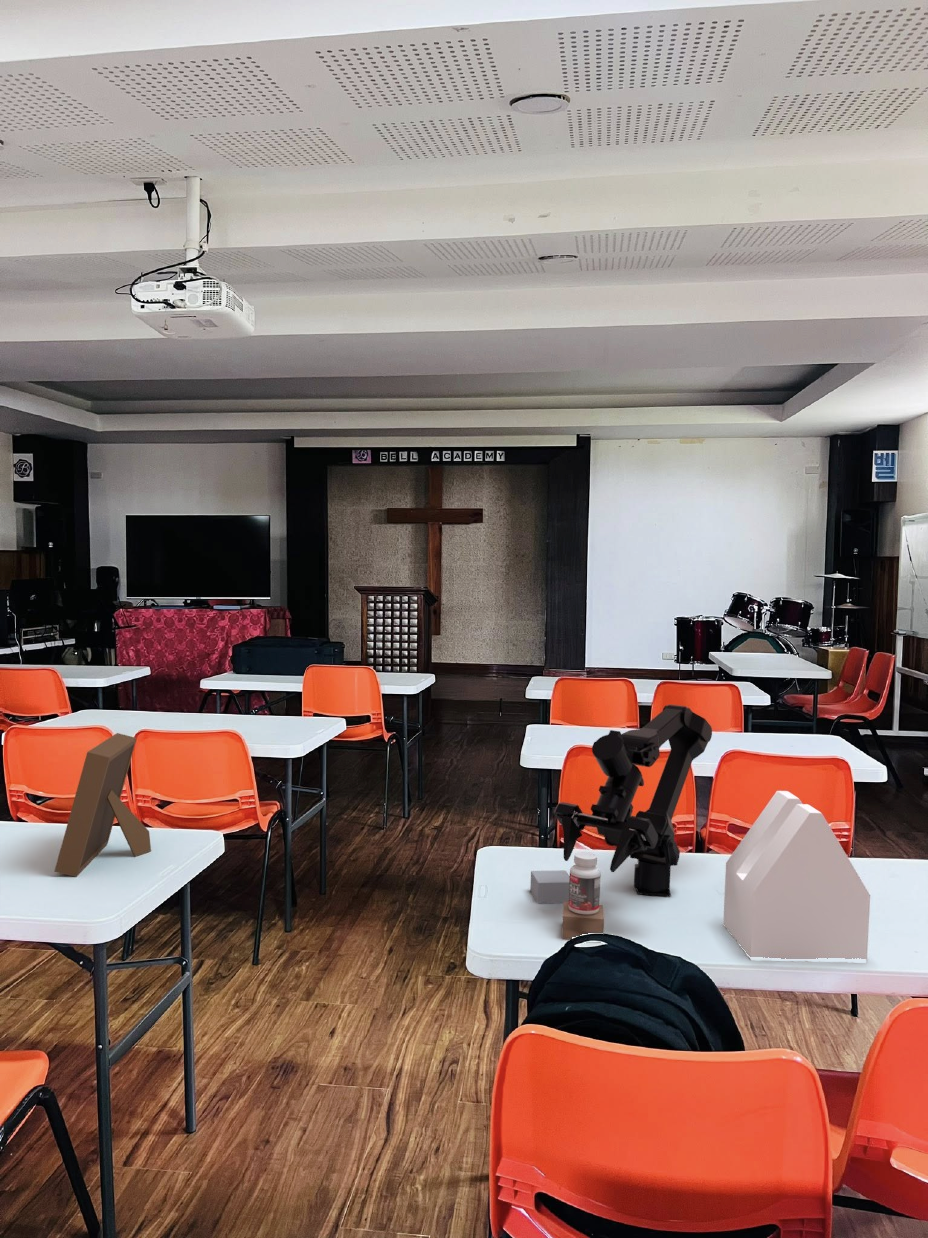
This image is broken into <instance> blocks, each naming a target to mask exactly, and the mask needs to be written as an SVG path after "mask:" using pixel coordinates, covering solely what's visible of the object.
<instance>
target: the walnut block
mask: <svg viewBox="0 0 928 1238" xmlns="http://www.w3.org/2000/svg"><path fill="white" fill-rule="evenodd" d="M562 904H563V907H562V925H561V927H562V928H561V939H562V940H569V939H572V937H576V936H580V935H582V934H588V933H603V934H604V927H605V925H604V923H605V916H604V915H605V914H604V904H599V911H598V912H597V913H595V914H591V915H583V914H577V913H574V912H572V911H571V910H570V909H569V902H564V903H562Z"/></svg>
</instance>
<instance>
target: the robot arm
mask: <svg viewBox="0 0 928 1238" xmlns="http://www.w3.org/2000/svg"><path fill="white" fill-rule="evenodd" d="M712 736H713V728H712V725H711V724H710V723H709V722H708V720H706V718H704V717H703V716H700V715H698V713H695V712H693V710H692V709H691V708H690V707H687V706H686V705H679V704H668V705H664V707H663V709H662V711H661V712H660V713H658V714H657V715H655V717H653V718H652V719H651V720H650V721H649V722H648V723H647V724H646V723H645V725H644V726H643V727H642V728H637V729H631V730H630V729H629V730H628V731H625V732H623V733H621V731H619V730H612V729H611V730H609V732H608V734H606V735H602V736H601V737H599V738H597V739H596V740H595V741H594V742H593V744H592V747H591V752H592V755H593V756H594V758H595V760H596V762H597V764H598V766H599V767H600V769H601V771H602V773H603V774H604V775H605V776H607V779H606V782H605V784H604V785H600V786H599V788H598V791H599V794H600V795H599V798H598V800H597V802H596V804H595V803H592V804H591V806H590V811H591V812H592V814H586V813H584V812H583V811H582V809H581V808H580V806H579V805H578V804H574V803H569V802H564V801H561V802H559V803H558V804H557V805H556V807H555V808H554V811H553V815H554V816H555V817H556V819H557V821H558V823H559V824H560V825H561V828H562V833H563V859H564V862H568V861H569V859H570V857H571V855H572V853H573V851H574V848H575V847H576V846H575V845H576V843H577V841H578V839H579V838H581V837H582V836H583V834H582V831H584V830H585V828H586V826H588V827H593V828H596V831H597V833H598V834H597V835H599V836H602V837H604V841H605V844H607V846H611V847H616V848H615V850H614V854H613V856H612V858H611V862H610V867H609V870H610V872H611V873H615V872H616V871H617V870H618V868H619V867H620V866H621V865H622V864H623V863H624V862H625V861H626V860H627V859H628V858H630V859H635V860H637V863H635V864H634V872H633V873H634V875H633V886H634V888H635V889H636V894H638V895H646V896H647V895H648V896H661V897H671V896H672V895H671V894H672V892H671V890H670V889H671V886H670V885H671V866H675V867H676V866H678V862H679V860H680V854H681V851H680V849H679V846H678V845H677V843H676V841H675V836H676V833H675V830H674V826H673V822H672V819H673V816H674V815H675V811H676V808H677V805H678V804H679V799H680V797H681V794H682V791H683V787H684V785H685V783H686V780H687V777H688V775H689V771H690V770H691V769H690V768H691V766H692V763H693V761H694V760H696V759H697V757H699V756H700V755H702V754H703V753H704V752H705V750H706V748H707V746H708V743H709V742H710V741H711V739H712ZM667 741H668V743H669V747H670V751H669V754H668V756H667V760H666V762H665V764H664V768H663V770H662V773H661V776H660V778H659V781H658V784H657V786H656V789H655V791H654V795H653V797H652V800H651V803H650V805H649V807H648V809H647V810H646V811H642V810H638V812H637V813H636V814H635V816H634V815H632V814H633V809H634V806H633V804H632V803H633V800H634V797H635V795H636V794H637V790H638V789H639V787H644V786H645V781H644V778H643V774H642V772H641V770H640V768H639V767H638V766H640V767H646V768H651V767H652V766H653V765H654V764H655V763H656V762H657V760H658V759H659V758H660V757H661V756H660V748H661V746H663V745H664V744H665V743H666V742H667Z"/></svg>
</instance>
